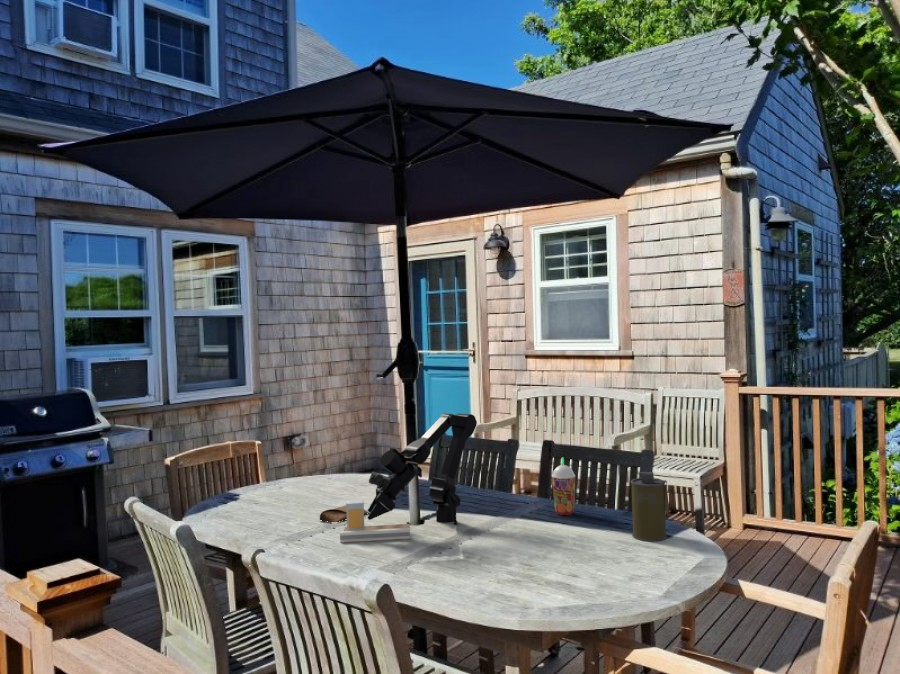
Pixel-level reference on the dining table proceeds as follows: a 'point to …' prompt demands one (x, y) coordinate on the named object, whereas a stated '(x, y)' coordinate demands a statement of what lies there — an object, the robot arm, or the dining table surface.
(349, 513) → the carton
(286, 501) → the dining table surface
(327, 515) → the sunglasses case
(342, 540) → the rail
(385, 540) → the shelf board
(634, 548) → the dining table surface
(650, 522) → the canister
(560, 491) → the smoothie
